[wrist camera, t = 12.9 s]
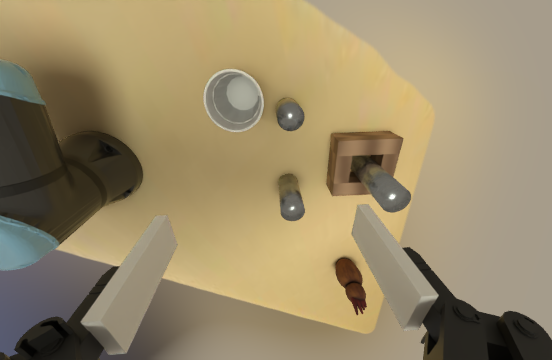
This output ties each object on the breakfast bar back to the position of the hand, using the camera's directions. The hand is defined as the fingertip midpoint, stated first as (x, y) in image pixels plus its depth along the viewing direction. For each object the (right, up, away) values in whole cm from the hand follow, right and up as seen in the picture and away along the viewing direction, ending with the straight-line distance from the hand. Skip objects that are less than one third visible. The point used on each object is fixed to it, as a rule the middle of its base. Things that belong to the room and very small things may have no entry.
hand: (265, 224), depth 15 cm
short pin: (+3, +17, +25) cm, 30 cm away
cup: (-5, +19, +24) cm, 31 cm away
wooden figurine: (+21, -21, +47) cm, 55 cm away
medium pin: (+4, +3, +33) cm, 33 cm away
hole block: (+18, +8, +31) cm, 37 cm away
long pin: (+18, +8, +31) cm, 37 cm away
